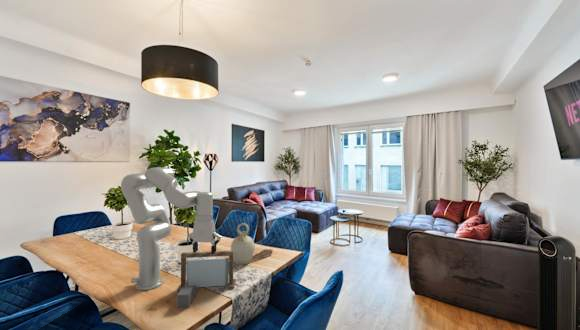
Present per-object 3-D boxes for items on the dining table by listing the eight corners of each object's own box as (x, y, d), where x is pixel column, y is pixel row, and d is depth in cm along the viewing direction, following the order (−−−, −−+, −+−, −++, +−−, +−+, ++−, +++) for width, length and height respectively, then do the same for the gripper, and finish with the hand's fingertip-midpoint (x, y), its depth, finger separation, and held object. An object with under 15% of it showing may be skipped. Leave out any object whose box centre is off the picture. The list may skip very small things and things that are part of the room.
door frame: (176, 292, 114) (176, 256, 114) (182, 284, 122) (182, 250, 122) (234, 288, 118) (234, 253, 118) (235, 281, 126) (235, 248, 126)
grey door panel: (186, 288, 118) (186, 260, 118) (186, 286, 119) (187, 259, 119) (228, 285, 121) (228, 258, 121) (228, 284, 122) (228, 257, 122)
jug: (236, 255, 162) (237, 219, 162) (257, 257, 159) (257, 221, 159) (226, 264, 147) (226, 225, 147) (249, 266, 144) (249, 226, 144)
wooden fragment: (266, 248, 176) (266, 247, 176) (278, 251, 170) (278, 250, 170) (243, 261, 153) (243, 259, 153) (257, 264, 148) (257, 263, 148)
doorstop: (176, 308, 101) (176, 295, 101) (187, 290, 116) (187, 278, 116) (188, 307, 102) (188, 294, 102) (197, 289, 117) (197, 278, 117)
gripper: (184, 218, 111) (183, 254, 110) (217, 220, 107) (216, 256, 107) (193, 215, 118) (193, 248, 118) (224, 216, 115) (224, 250, 115)
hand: (204, 252), depth 113 cm, fingers open, 9 cm apart
